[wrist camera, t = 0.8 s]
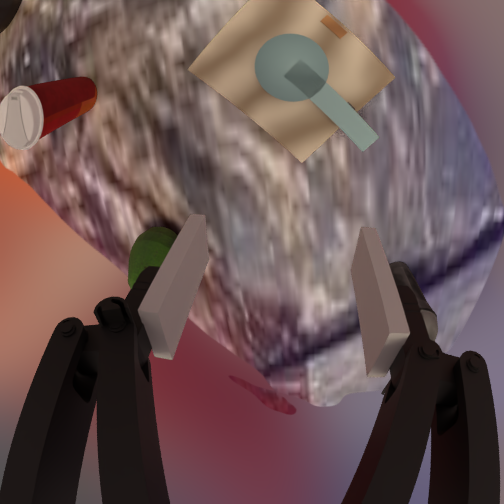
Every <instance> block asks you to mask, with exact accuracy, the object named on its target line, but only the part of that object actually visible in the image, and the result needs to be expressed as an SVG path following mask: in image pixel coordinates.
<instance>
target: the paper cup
mask: <svg viewBox="0 0 504 504" xmlns="http://www.w3.org/2000/svg"><path fill="white" fill-rule="evenodd" d="M96 99H97V89H96V86H95V84H94V82H93V81H92V80H91V79H89V78H87V77H75V78H68V79H62V80H57V81H51V82H46V83H40V84H35V85H31V86H18V87H16V88H14V89H13V90H12V91H11V92H10V93H9V94H8V95H7V96H6V97H5V98H4V99H3V101H2V102H1V104H0V133H1V136H2V137H3V139H4V140H5V142H6V143H7V144H8V145H9V146H11V147H13V148H15V149H19V150H28V149H30V148H31V147H32V146H34V145H35V144H36V143H37V141H38V140H39V139H40V138H42V137H44V136H45V135H47V134H49V133H50V132H52V131H54V130H55V129H57V128H59V127H61V126H62V125H64V124H66V123H68V122H69V121H71V120H73V119H75V118H77V117H78V116H80V115H82V114H84V113H86V112H87V111H89V110H90V109H91V108H92V107H93V106H94V104H95V102H96Z"/></svg>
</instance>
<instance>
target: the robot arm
mask: <svg viewBox="0 0 504 504" xmlns="http://www.w3.org/2000/svg"><path fill="white" fill-rule="evenodd" d="M20 3H21V0H0V33H1V32H2V31H3V30H4V29H5V28H6V27H7V26H8V24H9V23H10V22H11V20H12V19H13V17H14V15H15V13H16V12H17V10H18V7H19V5H20ZM208 261H209V254H208V243H207V231H206V219H205V215H197V214H190V216H189V217H188V219H187V221H186V223H185V224H184V226H183V228H182V230H181V231H180V233H179V235H178V236H177V238H176V240H175V242H174V244H173V245H172V247H171V249H170V251H169V252H168V254H167V256H166V258H165V260H164V261H163V263H162V265H161V267H156V266H148V267H147V268H146V269H144V270H143V271H142V272H141V273H140V274H139V276H138V278H137V280H136V283H134V285H133V286H132V289H131V290H130V292H129V293H128V295H127V297H126V299H125V300H124V299H123V298H120V297H109V298H106V299H104V300H102V301H100V302H99V303H98V305H97V306H96V307H95V310H94V314H95V316H96V318H97V320H98V322H99V324H98V325H89V326H84V325H83V323H82V322H81V320H79V319H78V318H75V317H71V318H66V319H64V320H62V321H61V322H60V323H58V325H57V326H56V328H55V330H54V332H53V334H52V336H51V338H50V340H49V343H48V345H47V347H46V350H45V352H44V354H43V356H42V359H41V361H40V364H39V366H38V368H37V371H36V373H35V376H34V379H33V381H32V384H31V386H30V389H29V392H28V394H27V397H26V400H25V403H24V406H23V409H22V412H21V415H20V418H19V421H18V424H17V427H16V431H15V434H14V437H13V441H12V444H11V448H10V451H9V455H8V459H7V463H6V467H5V471H4V476H3V480H2V485H1V490H0V504H75V502H76V495H77V489H78V483H79V478H80V472H81V467H82V461H83V456H84V451H85V447H86V442H87V437H88V433H89V429H90V424H91V421H92V416H93V412H94V408H95V405H96V401H97V442H98V460H99V474H100V485H101V495H102V502H103V504H170V500H169V496H168V491H167V486H166V480H165V475H164V469H163V464H162V458H161V451H160V445H159V438H158V431H157V423H156V415H155V407H154V397H153V387H152V377H151V364H150V360H149V358H148V357H149V354H150V351H151V349H152V351H153V353H154V356H155V357H159V358H165V359H170V360H172V359H173V357H174V354H175V351H176V348H177V345H178V342H179V340H180V337H181V334H182V331H183V328H184V326H185V323H186V320H187V317H188V315H189V312H190V309H191V306H192V304H193V301H194V298H195V295H196V293H197V290H198V287H199V285H200V282H201V279H202V277H203V274H204V271H205V269H206V266H207V263H208ZM351 275H352V280H353V286H354V291H355V297H356V303H357V309H358V315H359V321H360V328H361V335H362V342H363V349H364V356H365V364H366V373H367V377H385V376H386V374H387V373H388V371H389V369H390V374H391V379H390V381H389V382H388V384H387V385H386V387H385V388H384V390H383V391H382V394H383V395H384V398H383V401H382V404H381V407H380V410H379V413H378V416H377V419H376V422H375V425H374V427H373V430H372V433H371V436H370V439H369V441H368V444H367V446H366V449H365V451H364V454H363V456H362V459H361V461H360V464H359V466H358V468H357V471H356V473H355V475H354V477H353V480H352V482H351V484H350V486H349V488H348V490H347V492H346V495H345V497H344V499H343V501H342V503H341V504H408V503H409V501H410V498H411V495H412V492H413V489H414V486H415V483H416V480H417V477H418V473H419V471H420V467H421V463H422V460H423V456H424V453H425V449H426V445H427V441H428V437H429V433H430V429H431V468H430V470H431V471H430V485H429V497H428V504H500V461H499V445H498V434H497V424H496V417H495V409H494V402H493V396H492V390H491V384H490V379H489V374H488V369H487V365H486V362H485V360H484V358H483V357H482V356H481V355H480V354H478V353H477V352H474V351H466V352H464V353H463V354H462V355H461V357H460V358H459V357H455V356H452V355H448V354H445V353H443V352H442V350H441V348H440V346H439V345H438V344H437V343H436V342H435V341H433V340H431V339H430V338H429V334H428V331H427V328H426V325H425V322H424V319H423V316H422V313H421V310H420V307H419V305H418V301H417V298H416V296H415V294H414V292H413V291H412V290H411V289H410V288H409V287H408V286H402V285H396V284H395V281H394V278H393V275H392V272H391V269H390V266H389V263H388V260H387V258H386V255H385V252H384V249H383V247H382V244H381V241H380V239H379V236H378V233H377V231H376V228H369V227H361V229H360V234H359V238H358V242H357V247H356V251H355V255H354V259H353V263H352V267H351ZM384 393H385V394H384Z"/></svg>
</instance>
